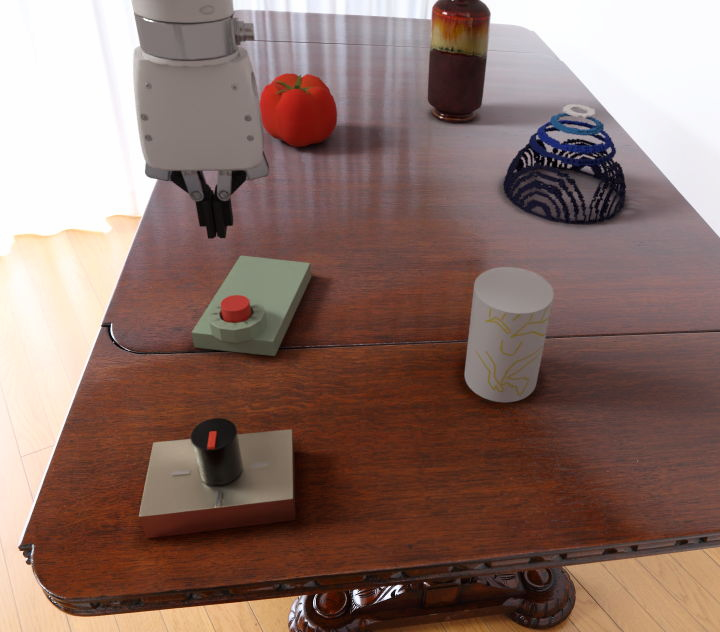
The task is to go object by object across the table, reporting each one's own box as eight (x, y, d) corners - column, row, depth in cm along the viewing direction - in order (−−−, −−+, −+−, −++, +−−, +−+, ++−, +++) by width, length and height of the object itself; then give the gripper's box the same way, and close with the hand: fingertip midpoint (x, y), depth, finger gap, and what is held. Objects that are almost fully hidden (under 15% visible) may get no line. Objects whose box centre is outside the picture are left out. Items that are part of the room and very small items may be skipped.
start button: (246, 325, 74) (244, 312, 73) (218, 322, 74) (216, 309, 73) (254, 308, 76) (253, 296, 75) (228, 306, 76) (226, 293, 75)
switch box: (272, 362, 75) (269, 333, 72) (191, 353, 75) (184, 324, 72) (311, 277, 88) (309, 250, 86) (242, 269, 88) (238, 243, 86)
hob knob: (201, 455, 60) (192, 416, 57) (244, 451, 61) (237, 413, 58) (196, 487, 57) (186, 449, 54) (241, 483, 58) (234, 445, 55)
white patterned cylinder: (472, 405, 72) (483, 315, 65) (458, 355, 78) (467, 268, 71) (545, 399, 74) (564, 311, 67) (525, 351, 80) (541, 265, 73)
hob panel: (146, 539, 56) (138, 515, 54) (159, 464, 62) (152, 441, 60) (295, 520, 59) (292, 497, 57) (294, 450, 65) (292, 427, 63)
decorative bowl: (537, 157, 125) (549, 78, 116) (639, 190, 118) (660, 109, 109) (482, 195, 111) (491, 109, 102) (594, 236, 103) (615, 147, 95)
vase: (418, 107, 140) (424, -33, 124) (467, 103, 144) (479, -33, 128) (438, 127, 132) (448, -19, 116) (489, 123, 136) (505, -19, 121)
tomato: (271, 122, 127) (265, 65, 120) (342, 127, 128) (341, 71, 122) (254, 152, 116) (247, 91, 110) (332, 157, 117) (330, 97, 111)
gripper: (282, 27, 60) (296, 211, 71) (98, 20, 57) (141, 215, 68) (282, 52, 55) (297, 248, 65) (77, 45, 51) (128, 254, 62)
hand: (218, 231), depth 67 cm, fingers closed
